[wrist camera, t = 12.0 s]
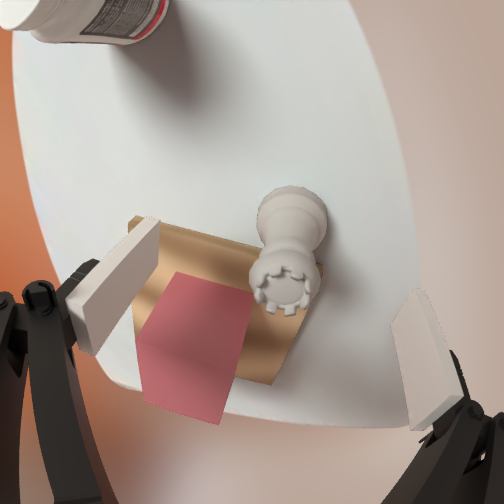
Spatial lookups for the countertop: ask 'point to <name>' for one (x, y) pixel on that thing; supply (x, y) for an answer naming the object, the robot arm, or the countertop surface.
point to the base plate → (227, 273)
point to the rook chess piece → (288, 249)
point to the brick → (193, 346)
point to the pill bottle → (84, 19)
